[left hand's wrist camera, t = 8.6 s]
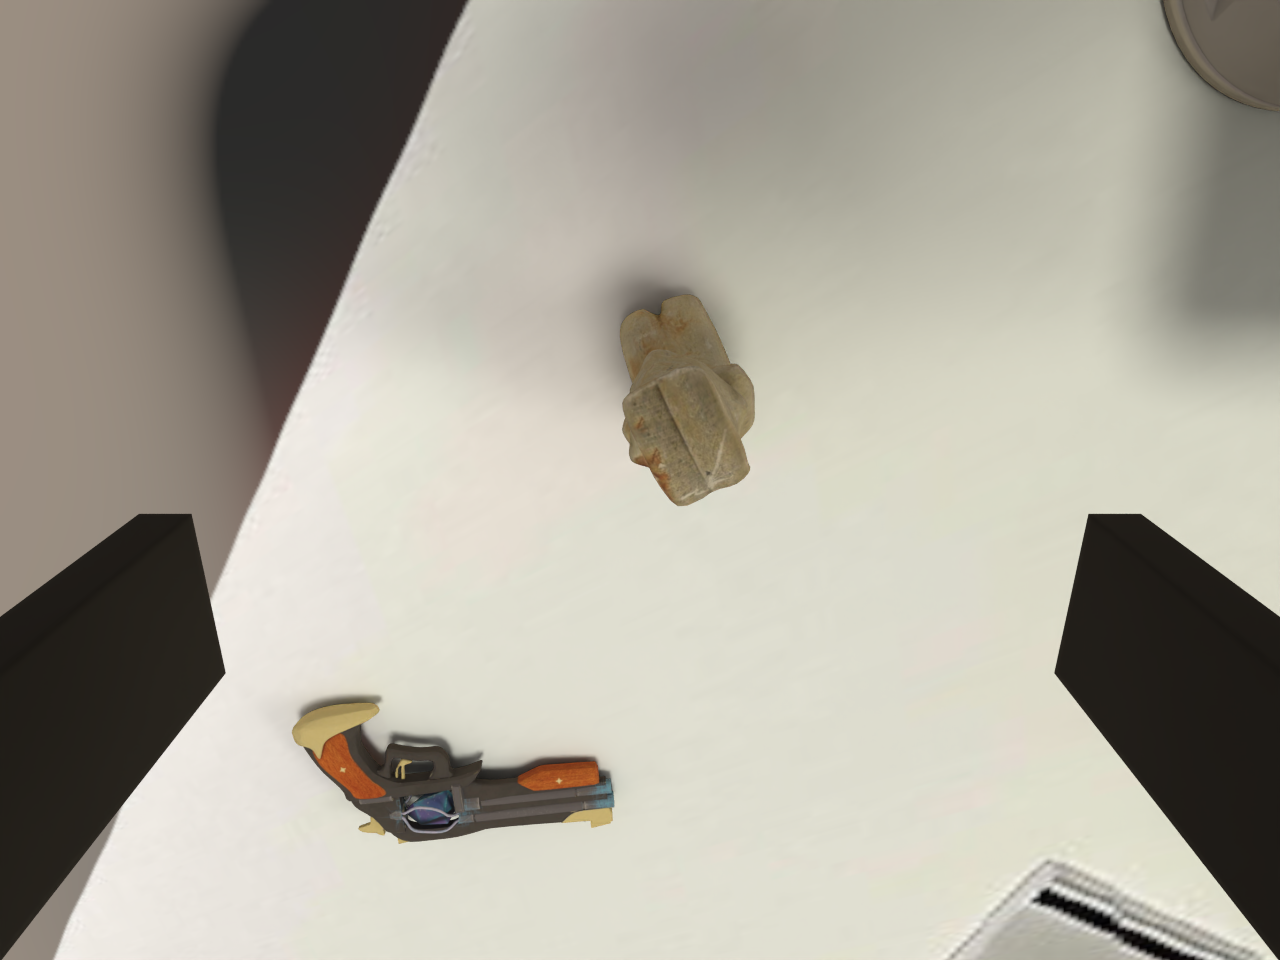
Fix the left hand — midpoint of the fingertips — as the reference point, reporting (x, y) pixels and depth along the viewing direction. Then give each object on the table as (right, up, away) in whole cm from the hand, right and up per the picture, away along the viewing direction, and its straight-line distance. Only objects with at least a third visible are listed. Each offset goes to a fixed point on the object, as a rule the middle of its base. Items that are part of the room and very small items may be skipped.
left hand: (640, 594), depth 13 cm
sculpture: (+2, +8, +32) cm, 33 cm away
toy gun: (-11, -16, +41) cm, 46 cm away
